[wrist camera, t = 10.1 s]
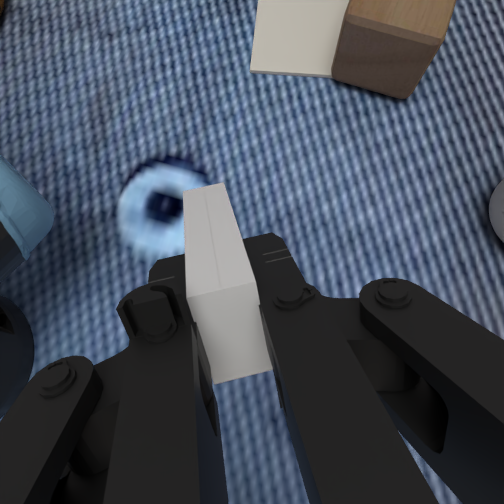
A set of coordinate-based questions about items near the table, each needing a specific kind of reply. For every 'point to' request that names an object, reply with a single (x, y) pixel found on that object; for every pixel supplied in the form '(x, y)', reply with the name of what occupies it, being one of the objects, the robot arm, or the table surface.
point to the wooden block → (389, 43)
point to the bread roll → (1, 6)
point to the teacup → (497, 210)
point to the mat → (296, 37)
